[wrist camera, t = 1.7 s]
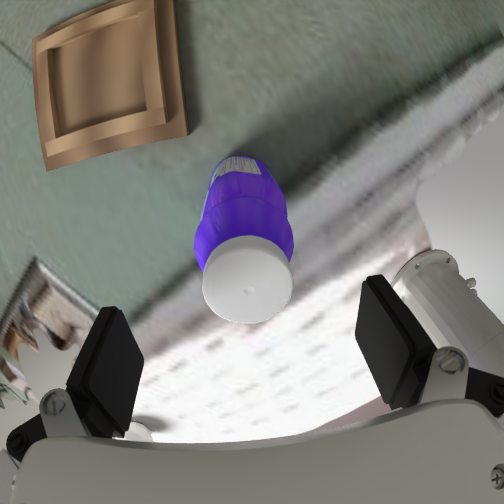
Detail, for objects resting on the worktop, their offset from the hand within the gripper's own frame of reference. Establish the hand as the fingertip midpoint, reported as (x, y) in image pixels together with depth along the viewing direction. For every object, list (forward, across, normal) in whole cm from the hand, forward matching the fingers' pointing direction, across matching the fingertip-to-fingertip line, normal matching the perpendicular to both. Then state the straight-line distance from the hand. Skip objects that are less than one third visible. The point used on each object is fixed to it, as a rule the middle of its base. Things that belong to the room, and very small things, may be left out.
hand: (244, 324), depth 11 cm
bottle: (+20, 0, 0) cm, 20 cm away
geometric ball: (+20, +27, +44) cm, 55 cm away
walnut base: (+20, +12, -14) cm, 27 cm away
